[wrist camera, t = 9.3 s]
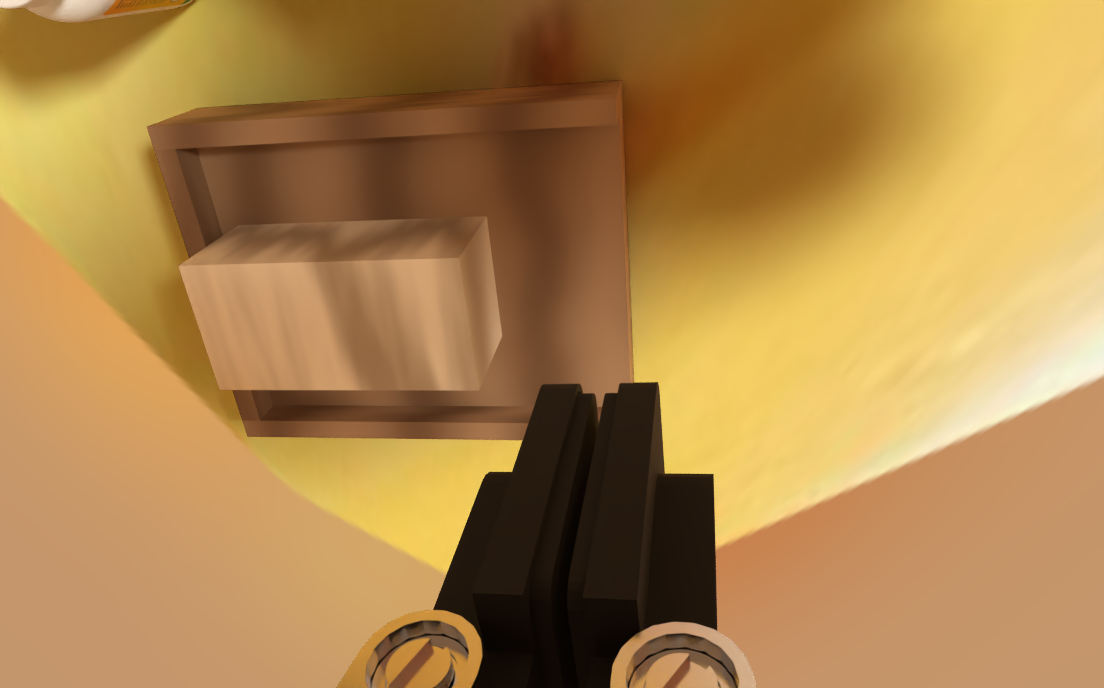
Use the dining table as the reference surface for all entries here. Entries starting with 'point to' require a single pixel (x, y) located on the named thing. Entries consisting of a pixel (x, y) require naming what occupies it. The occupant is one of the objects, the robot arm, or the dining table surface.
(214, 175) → the walnut tray
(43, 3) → the supplement bottle
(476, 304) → the beech block
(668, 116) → the dining table surface
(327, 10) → the dining table surface
